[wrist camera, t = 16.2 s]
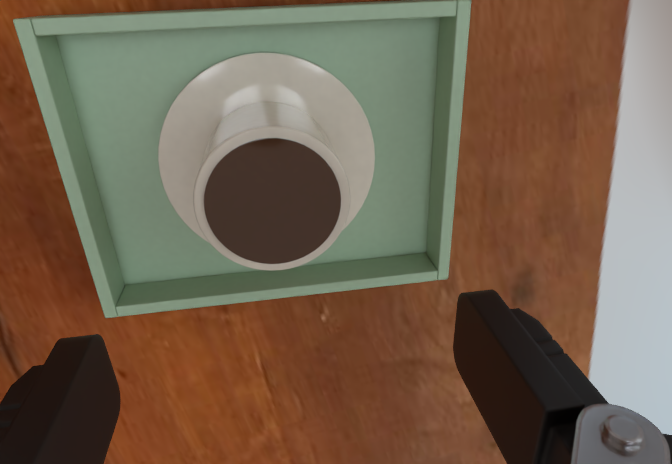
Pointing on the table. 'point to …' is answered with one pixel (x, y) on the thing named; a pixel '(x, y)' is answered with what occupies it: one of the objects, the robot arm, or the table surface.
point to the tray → (187, 62)
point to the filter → (266, 158)
